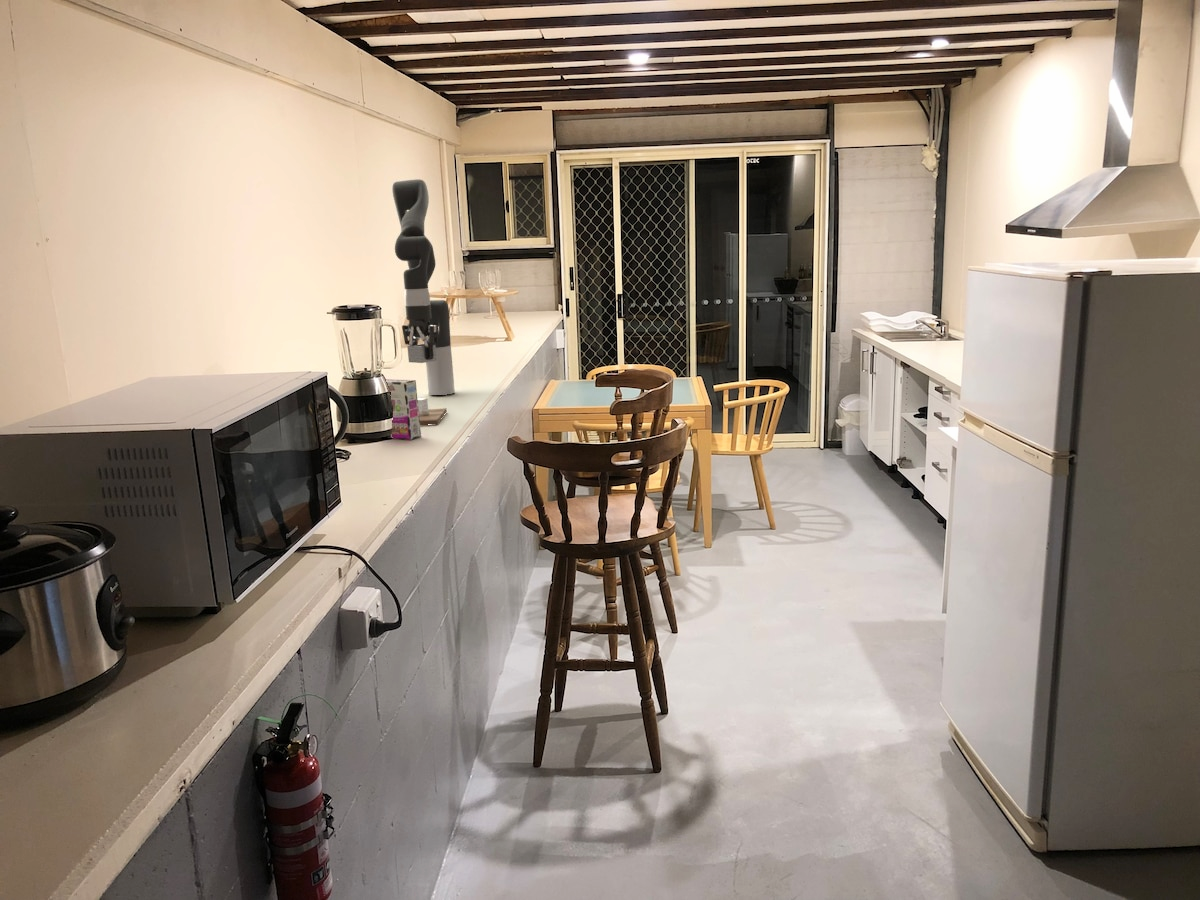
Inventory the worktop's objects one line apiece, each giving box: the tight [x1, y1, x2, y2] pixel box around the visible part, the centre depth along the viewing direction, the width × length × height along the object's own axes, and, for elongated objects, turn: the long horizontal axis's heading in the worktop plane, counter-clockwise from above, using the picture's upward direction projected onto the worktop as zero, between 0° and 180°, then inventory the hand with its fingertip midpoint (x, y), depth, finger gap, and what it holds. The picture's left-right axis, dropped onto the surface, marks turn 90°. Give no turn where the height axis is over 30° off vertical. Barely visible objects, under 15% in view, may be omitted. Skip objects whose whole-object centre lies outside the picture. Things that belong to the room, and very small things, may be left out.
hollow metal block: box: [406, 343, 437, 364], centre depth 277 cm, size 6×6×5 cm
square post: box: [417, 397, 429, 416], centre depth 278 cm, size 3×3×5 cm
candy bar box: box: [386, 378, 422, 441], centre depth 254 cm, size 11×5×16 cm, turn 62°
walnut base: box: [419, 407, 447, 426], centre depth 279 cm, size 18×12×2 cm, turn 0°
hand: (422, 358), depth 277 cm, fingers closed on hollow metal block, 6 cm apart
